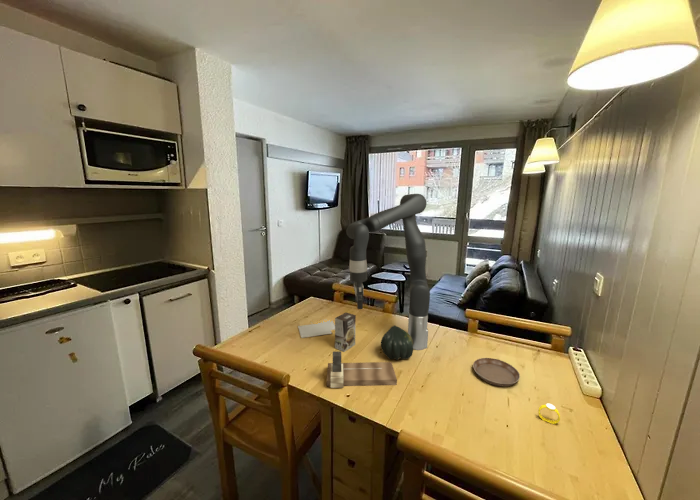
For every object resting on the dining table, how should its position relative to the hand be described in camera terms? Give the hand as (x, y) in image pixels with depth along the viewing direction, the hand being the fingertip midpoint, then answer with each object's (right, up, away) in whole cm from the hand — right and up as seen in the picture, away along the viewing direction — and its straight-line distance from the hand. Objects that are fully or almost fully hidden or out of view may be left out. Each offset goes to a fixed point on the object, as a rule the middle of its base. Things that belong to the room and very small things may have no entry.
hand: (358, 305), depth 128 cm
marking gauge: (-9, -29, -10) cm, 32 cm away
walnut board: (+1, -29, -6) cm, 29 cm away
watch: (+63, -34, -29) cm, 78 cm away
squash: (+18, -26, +9) cm, 33 cm away
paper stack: (-21, -20, +39) cm, 49 cm away
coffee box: (-6, -24, +17) cm, 30 cm away
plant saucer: (+58, -29, -5) cm, 65 cm away
